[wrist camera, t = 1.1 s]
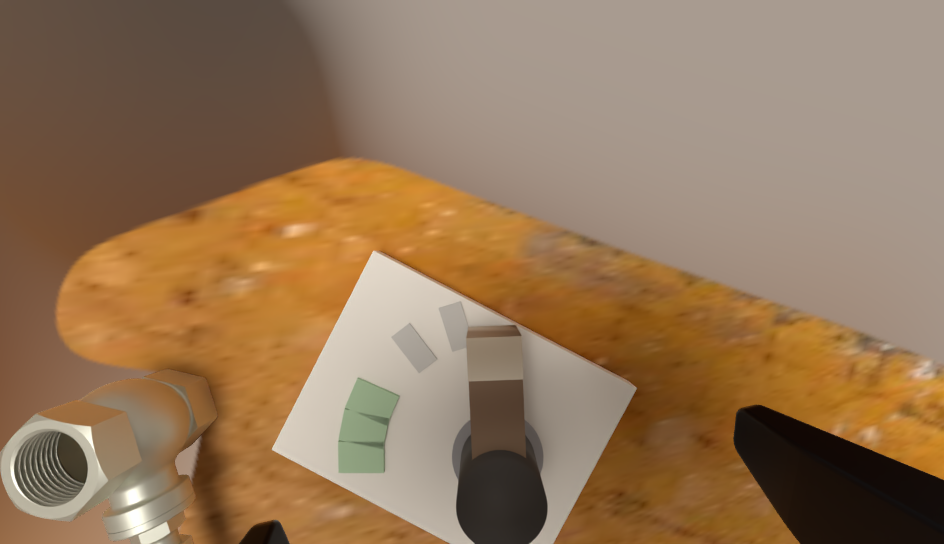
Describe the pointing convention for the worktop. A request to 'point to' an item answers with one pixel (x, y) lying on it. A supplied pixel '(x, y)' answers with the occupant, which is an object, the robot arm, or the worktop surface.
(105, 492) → the valve
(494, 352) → the lever
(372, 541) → the worktop surface
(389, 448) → the dial board
